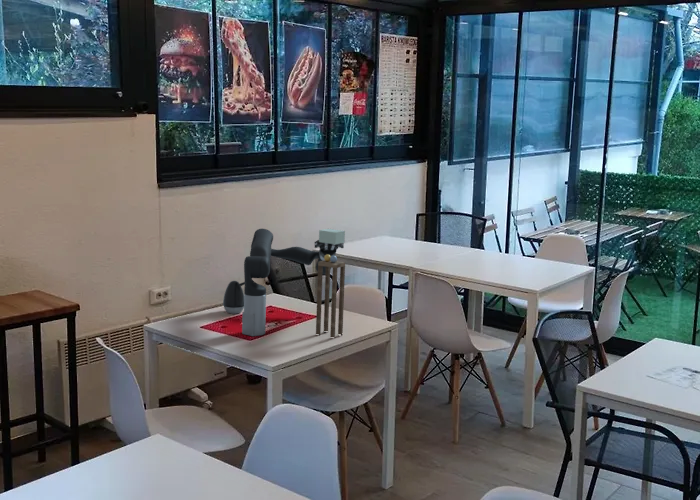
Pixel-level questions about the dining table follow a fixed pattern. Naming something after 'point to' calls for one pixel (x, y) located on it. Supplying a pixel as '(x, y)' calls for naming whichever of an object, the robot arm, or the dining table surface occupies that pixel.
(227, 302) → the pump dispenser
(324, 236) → the mint green block
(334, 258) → the slate marble
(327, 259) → the amber marble
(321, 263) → the walnut stand
